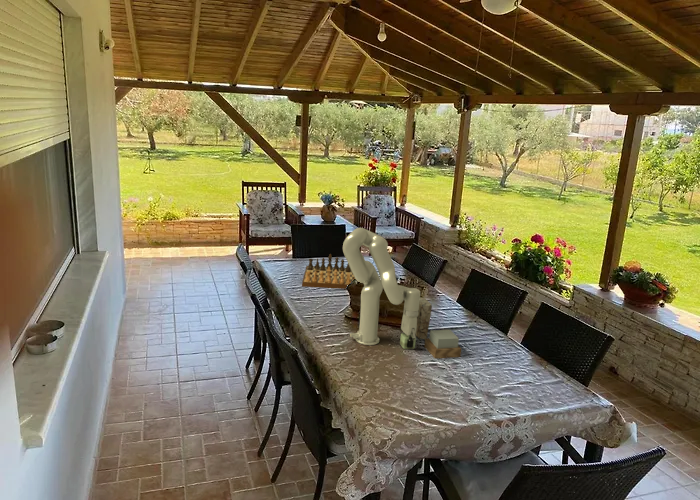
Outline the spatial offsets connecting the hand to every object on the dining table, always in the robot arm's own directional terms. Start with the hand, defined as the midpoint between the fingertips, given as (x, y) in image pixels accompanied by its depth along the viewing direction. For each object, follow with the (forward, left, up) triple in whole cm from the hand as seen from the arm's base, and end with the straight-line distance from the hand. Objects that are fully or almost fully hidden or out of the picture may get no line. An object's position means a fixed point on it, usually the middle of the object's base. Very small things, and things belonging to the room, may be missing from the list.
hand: (407, 344), depth 272 cm
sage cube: (0, 0, -1) cm, 1 cm away
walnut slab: (+16, -8, -2) cm, 18 cm away
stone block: (+12, +14, -1) cm, 19 cm away
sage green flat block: (+16, -8, +3) cm, 18 cm away
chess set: (-14, +114, -2) cm, 115 cm away
